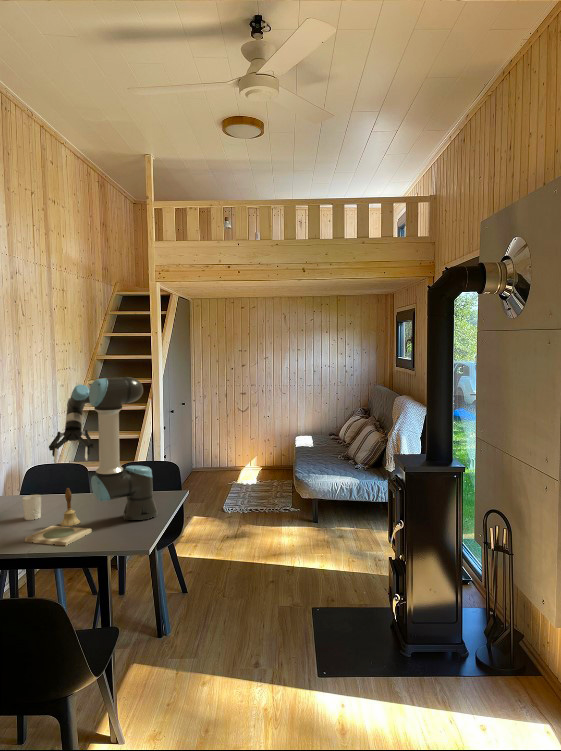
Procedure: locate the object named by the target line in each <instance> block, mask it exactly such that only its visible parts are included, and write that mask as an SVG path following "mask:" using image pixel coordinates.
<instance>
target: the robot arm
mask: <svg viewBox="0 0 561 751" xmlns="http://www.w3.org/2000/svg"><path fill="white" fill-rule="evenodd" d="M143 394H144V386H143V383H142V382H140V381H139V379H137V378H134V377H131V376H130V377H129V376H125V377H103V378H97V379H95V380H93V381H92V383H91V384H90V387H88V386H87V385H85V384H82V383H81V384H77V385H75V387H74V388H73V389H72V392H71V394H70V397H69V398H68V399H67V404H66V417H65V424H64V425H65V426H64V427H65V428H64V431H63V432H61V431H57V433H56V436H55V437H54V439H53V440H52V441H51V443H49V445H48V449H49V451H50V452H51V454H52V455H51V456H52V457H53V462H54V464H57V462H58V453H59V452H58V450H59V449H60V448H61V447H62V446H63V445H64V444H66V443H67V442H76V441H78V442H79V443H81V444H82V445H83V446H84V447H85V451H84V459H85V460H84V461H85V462H88V455H90V454H91V449H94V448H95V443H94V441H93V440H92V438H91V437H90V435H89V431H88V429H85V430H84V431H82V430H83V428H82V427H83V425H82V424H83V415H84V414H83V412H84V408H85V406H86V404H90V405H91V406H92V407H94V411H95V412H97V417H98V456H99V457H98V458H99V459H98V460H99V461H98V462H99V463H98V464H99V465H98V468H97V469H96V470H95V475H94V474H93V476H92V477H91V479H90V485H91V489H92V493H93V496H94V497H95V498H96V499H97V501H98V502H107V501H108V502H109V501H112V500H118V499H123V498H126V504H125V507H124V510H123V519H124V518H125V519H127V520H126V521H128V520H143V519H148V518H151V517H154V516H156V515H157V514H158V508H157V506H156V505H157V504H156V502H155V500H154V491H153V490H154V488H153V486H154V485H153V477H154V476H153V470H152V468H150V467H149V466H147V465H146V466H144V465H128V466H127V465H126V467H125V469H124V467H122V466H121V464H120V459H121V458H120V411H121V410H123V404H131V403H134V402H136V401H138V400H139V399H140V398H141V397H142V396H143ZM82 436H84V437H85V438H86V440H87V441H86V440H85V438H83V437H82ZM157 516H158V515H157ZM157 516H156V517H157ZM154 518H155V517H154ZM125 519H124V520H125ZM148 520H149V519H148ZM143 521H144V520H143Z"/></svg>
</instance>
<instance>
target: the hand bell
mask: <svg viewBox="0 0 561 751" xmlns="http://www.w3.org/2000/svg"><path fill="white" fill-rule="evenodd" d="M64 495H65V501H66V509H67V510H66V511H65V512H64V513H63V519H62V521H61V522H60V525H59V526H68V527H74V526H77V525H79V524H80V523H81V520H79V519H78V517H77V514H76V510H73V509H72V503H71V502H72V491H71V490H70V488H69V487H67V488H66V489H65V494H64ZM73 525H74V526H73Z"/></svg>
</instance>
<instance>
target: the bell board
mask: <svg viewBox="0 0 561 751" xmlns="http://www.w3.org/2000/svg"><path fill="white" fill-rule="evenodd" d="M92 532H93V530H92V528H87V527H75V526H68V527H64V526H61V525H50V526H47V527H46V528H43V529H42V530H39V531H37V532H35V533H33V534H30V535H28V536H27V537H25V538H24V542H25V543H32V542H33V544H34V543H35V544H42V545H43V544H45V545H53V544H55V546H63V545H65V547H66V546H68V544H69V545H70V543H71V544H73V543H74V542H76V541H78V540H80V539H82V538H83V537H86V536H88V535H89V534H91V533H92ZM85 535H86V536H85ZM72 542H73V543H72Z"/></svg>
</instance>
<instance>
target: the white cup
mask: <svg viewBox="0 0 561 751" xmlns="http://www.w3.org/2000/svg"><path fill="white" fill-rule="evenodd" d="M22 508H23V515H24V520H25V519H26V520H25V521H35V520H39V519H41V517H42V514H41V513H42V512H41V511H42V495H41V494H30V495H26V496H25V495H24V496H23V497H22ZM38 518H39V519H38ZM34 519H35V520H34Z"/></svg>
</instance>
